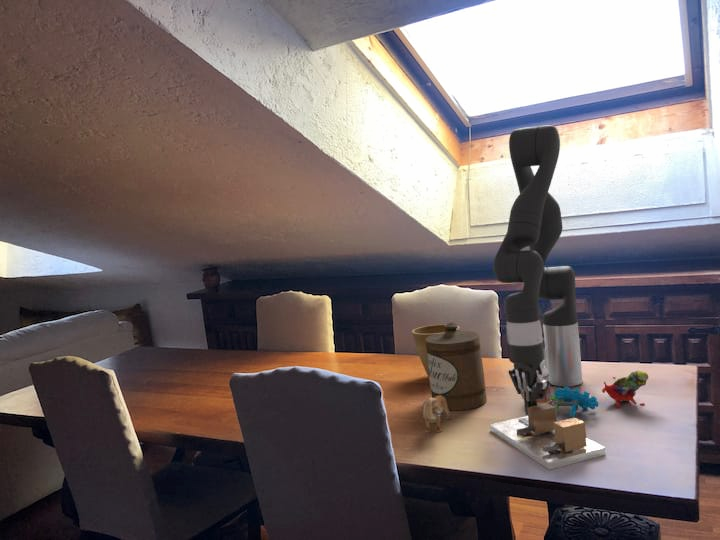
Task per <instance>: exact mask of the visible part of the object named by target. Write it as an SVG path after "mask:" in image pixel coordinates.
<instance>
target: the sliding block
mask: <svg viewBox="0 0 720 540" xmlns="http://www.w3.org/2000/svg"><path fill="white" fill-rule="evenodd" d="M527 410H528V421H529V427H526V428H522V429H518V430H517V434H519V435H520V434H524V433H528V432H534V433H536V434H541V433H545V432H549V431H553V430H554V422H558V421H557V419H558V418H557V414H556V407H555V405H552V404H550V403H545V404H541V405H536V406H532V407H528V408H527Z"/></svg>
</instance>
